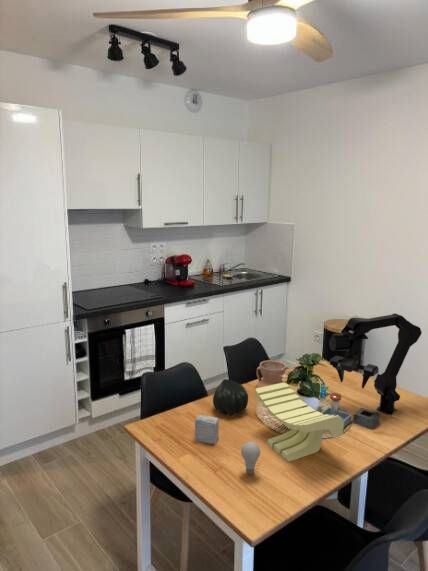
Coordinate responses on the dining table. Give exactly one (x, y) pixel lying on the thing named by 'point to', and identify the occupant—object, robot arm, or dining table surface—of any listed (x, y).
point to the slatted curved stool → (296, 422)
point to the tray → (343, 415)
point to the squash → (230, 398)
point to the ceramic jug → (271, 373)
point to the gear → (323, 390)
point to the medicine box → (207, 429)
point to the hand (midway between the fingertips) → (352, 385)
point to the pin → (335, 403)
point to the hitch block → (366, 418)
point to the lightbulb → (250, 455)
